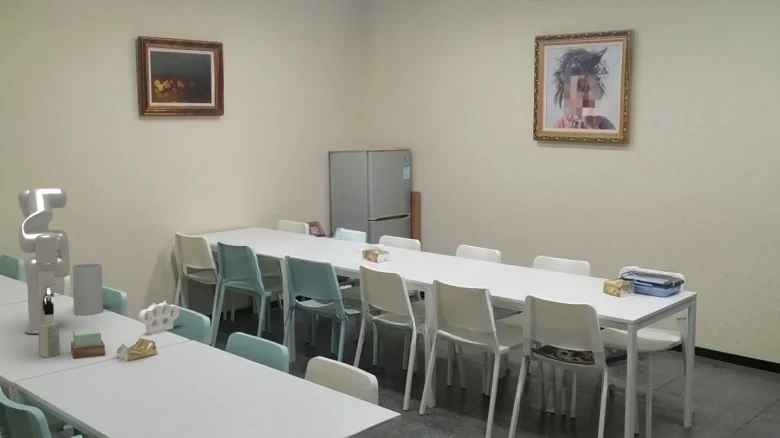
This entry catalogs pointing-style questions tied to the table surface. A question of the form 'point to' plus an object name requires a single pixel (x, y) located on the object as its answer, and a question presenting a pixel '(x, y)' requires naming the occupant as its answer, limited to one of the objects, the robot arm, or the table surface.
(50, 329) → the skincare box
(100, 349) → the tower base block
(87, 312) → the cylinder vase
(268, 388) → the table surface
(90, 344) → the tower top block
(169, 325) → the white brass knuckles
